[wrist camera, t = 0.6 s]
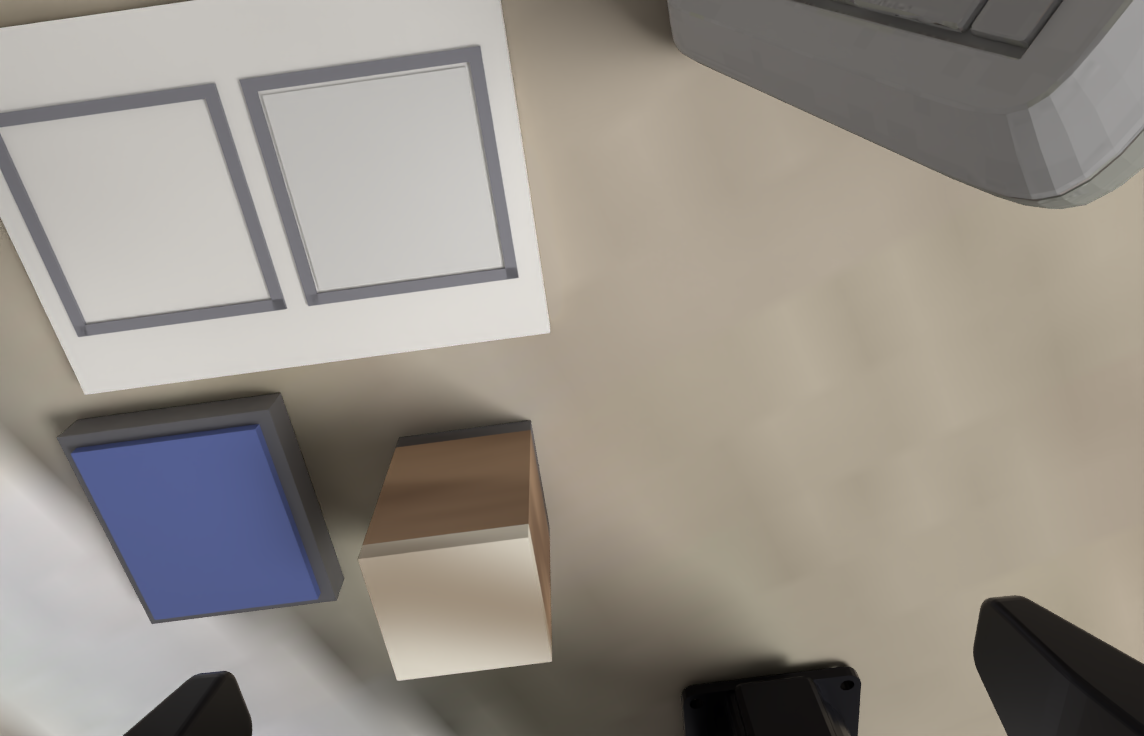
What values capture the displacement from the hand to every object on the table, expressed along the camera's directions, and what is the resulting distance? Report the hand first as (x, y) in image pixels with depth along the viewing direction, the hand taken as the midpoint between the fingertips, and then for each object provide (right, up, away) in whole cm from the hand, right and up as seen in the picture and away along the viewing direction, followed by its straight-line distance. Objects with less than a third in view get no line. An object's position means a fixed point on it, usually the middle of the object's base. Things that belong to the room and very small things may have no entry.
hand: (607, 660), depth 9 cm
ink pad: (-11, -1, +14) cm, 18 cm away
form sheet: (-8, +8, +10) cm, 15 cm away
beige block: (-3, 0, +14) cm, 14 cm away
